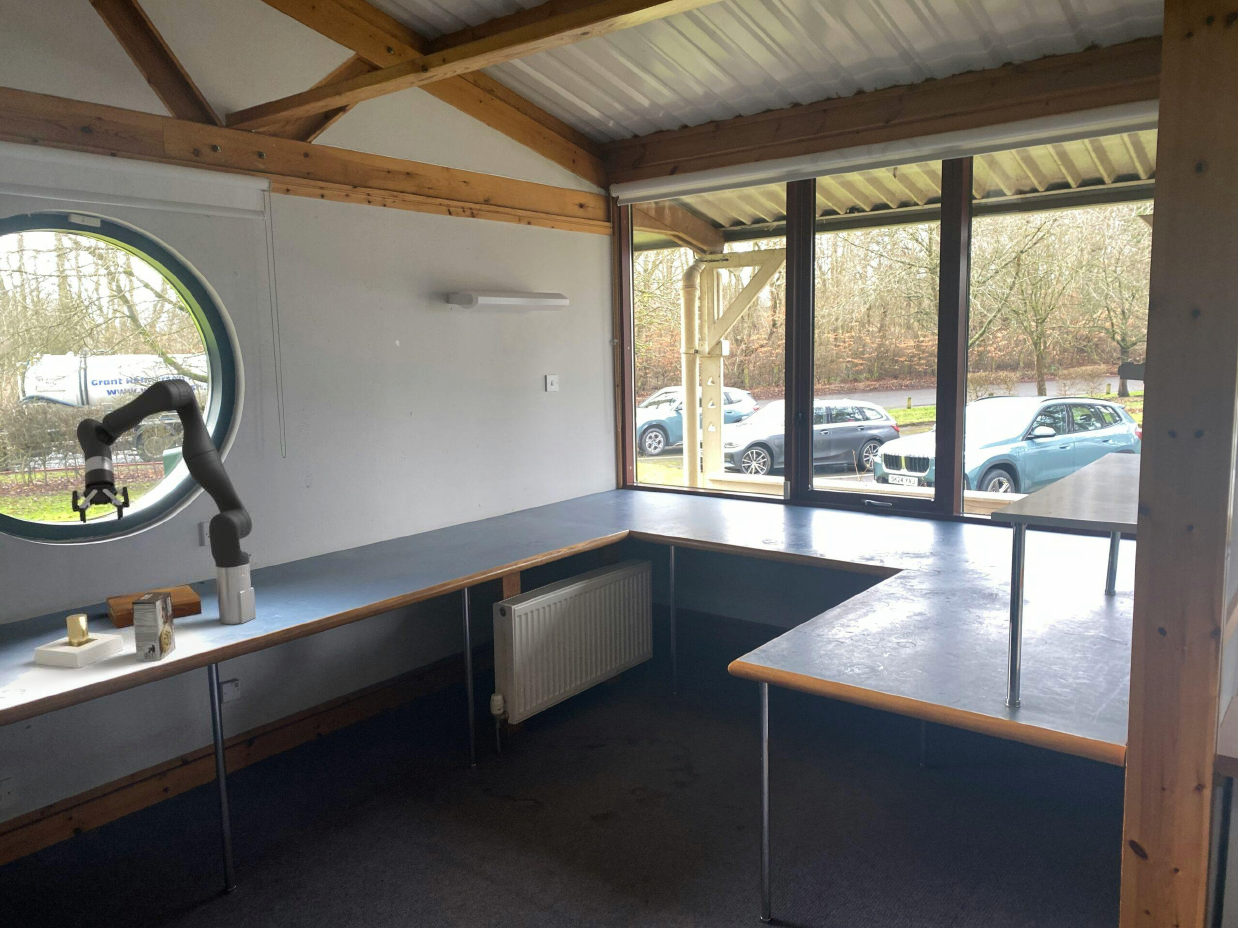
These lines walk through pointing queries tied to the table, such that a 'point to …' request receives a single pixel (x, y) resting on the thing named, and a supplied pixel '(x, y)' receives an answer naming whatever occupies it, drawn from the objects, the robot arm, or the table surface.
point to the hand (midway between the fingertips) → (102, 519)
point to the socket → (78, 651)
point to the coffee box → (153, 626)
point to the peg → (77, 630)
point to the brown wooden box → (181, 597)
